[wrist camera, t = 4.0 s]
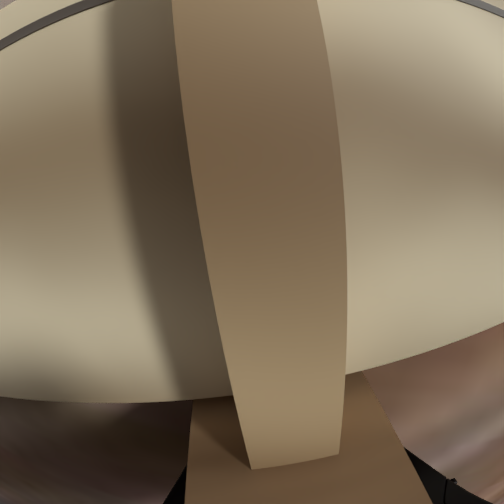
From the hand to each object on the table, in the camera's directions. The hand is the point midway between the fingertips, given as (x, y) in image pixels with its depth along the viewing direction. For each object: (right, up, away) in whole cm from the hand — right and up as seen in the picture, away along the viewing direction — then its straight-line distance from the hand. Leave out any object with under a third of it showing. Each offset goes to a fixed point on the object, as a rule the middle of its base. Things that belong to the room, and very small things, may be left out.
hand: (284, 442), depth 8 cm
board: (-2, +7, -1) cm, 8 cm away
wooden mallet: (-1, +5, 0) cm, 5 cm away
